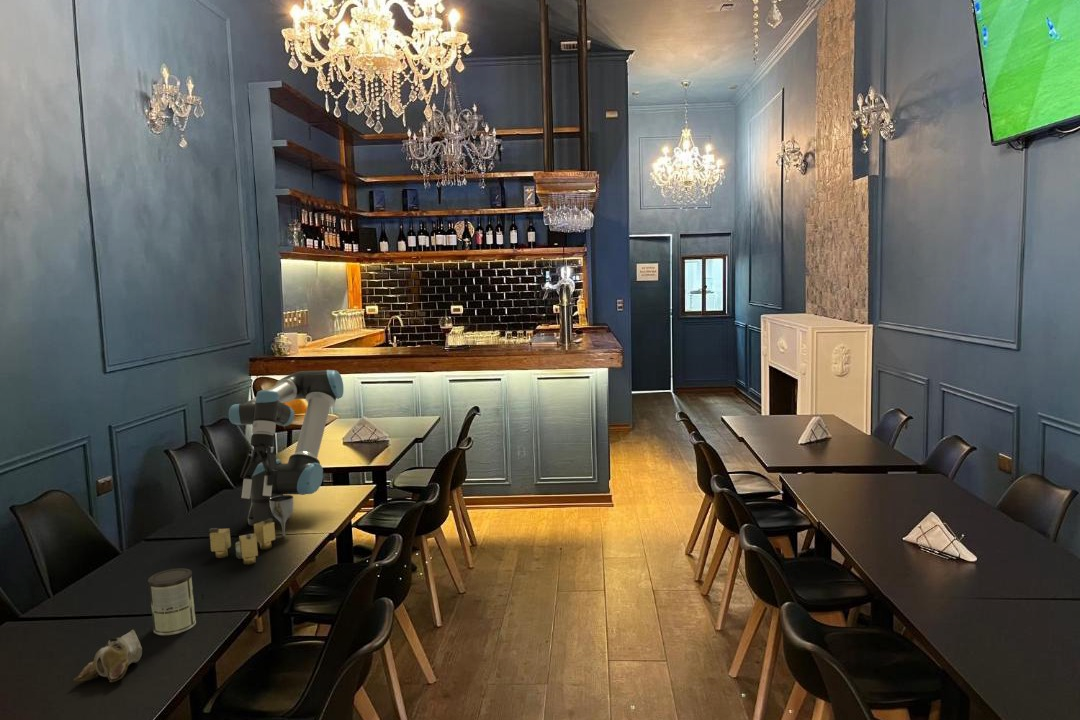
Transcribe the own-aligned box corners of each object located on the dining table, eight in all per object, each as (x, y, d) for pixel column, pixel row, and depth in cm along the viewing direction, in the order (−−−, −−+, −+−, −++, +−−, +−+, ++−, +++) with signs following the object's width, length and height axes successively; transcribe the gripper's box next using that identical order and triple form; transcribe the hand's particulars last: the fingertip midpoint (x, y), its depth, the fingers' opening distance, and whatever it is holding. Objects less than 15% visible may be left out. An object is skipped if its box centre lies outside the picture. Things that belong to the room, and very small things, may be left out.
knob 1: (231, 553, 256) (229, 526, 255) (225, 558, 251) (223, 530, 250) (215, 554, 256) (212, 526, 255) (209, 558, 251) (206, 531, 251)
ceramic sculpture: (152, 623, 185) (109, 657, 171) (157, 657, 187) (115, 693, 172) (112, 623, 187) (66, 656, 172) (117, 656, 188) (72, 692, 174)
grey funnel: (300, 535, 276) (296, 494, 274) (290, 543, 268) (287, 501, 267) (278, 536, 277) (275, 495, 275) (268, 543, 269) (265, 501, 267)
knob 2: (241, 561, 247) (238, 533, 247) (256, 558, 250) (253, 530, 249) (243, 566, 243) (241, 538, 242) (259, 563, 245) (256, 535, 244)
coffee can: (146, 629, 203) (141, 577, 202) (184, 615, 211) (180, 565, 210) (164, 639, 197) (159, 586, 195) (203, 624, 205) (198, 573, 203)
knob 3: (264, 550, 257) (262, 523, 256) (255, 548, 259) (253, 521, 259) (278, 545, 262) (276, 518, 261) (269, 543, 264) (266, 517, 263)
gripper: (234, 437, 271) (226, 498, 265) (272, 428, 256) (265, 493, 250) (254, 440, 277) (247, 500, 271) (292, 432, 261) (286, 495, 255)
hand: (256, 497), depth 260 cm, fingers open, 13 cm apart
